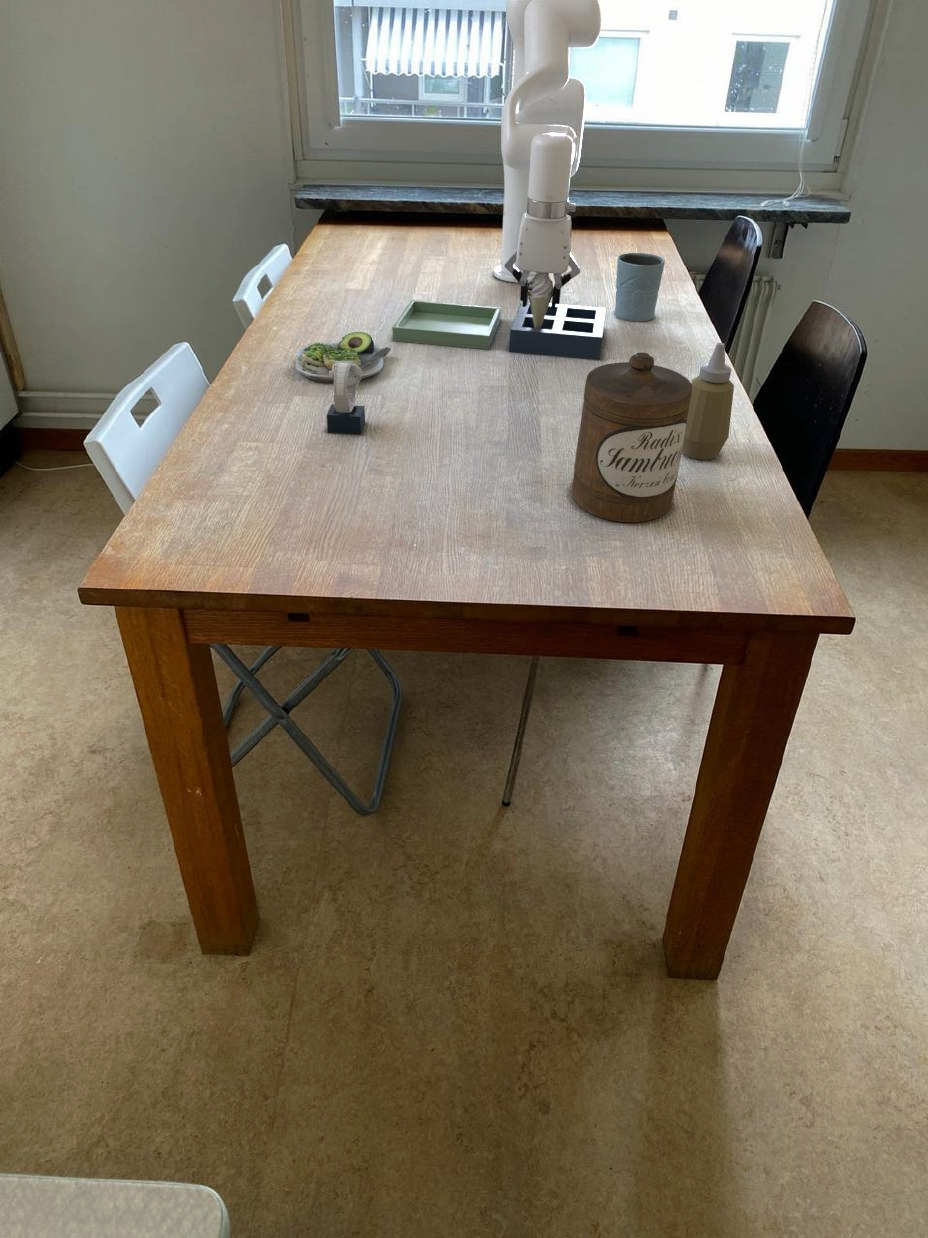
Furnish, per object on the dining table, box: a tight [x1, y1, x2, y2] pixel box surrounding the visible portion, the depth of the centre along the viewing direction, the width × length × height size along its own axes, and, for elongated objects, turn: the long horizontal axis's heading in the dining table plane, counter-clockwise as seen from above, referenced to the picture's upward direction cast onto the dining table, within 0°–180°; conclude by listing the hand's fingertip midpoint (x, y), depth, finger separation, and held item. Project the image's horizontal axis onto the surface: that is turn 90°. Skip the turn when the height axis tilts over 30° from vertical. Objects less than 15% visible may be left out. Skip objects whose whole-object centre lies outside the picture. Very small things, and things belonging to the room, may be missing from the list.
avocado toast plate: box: [294, 331, 392, 384], centre depth 171 cm, size 19×18×5 cm
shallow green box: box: [392, 299, 502, 350], centre depth 191 cm, size 18×20×3 cm
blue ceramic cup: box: [614, 252, 666, 323], centre depth 199 cm, size 10×10×12 cm
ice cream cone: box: [528, 272, 554, 329], centre depth 181 cm, size 5×5×15 cm
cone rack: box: [508, 301, 607, 361], centre depth 187 cm, size 18×18×4 cm
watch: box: [326, 361, 366, 435], centre depth 149 cm, size 6×8×11 cm
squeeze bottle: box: [682, 342, 735, 461], centre depth 144 cm, size 8×8×18 cm
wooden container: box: [571, 351, 692, 523], centre depth 130 cm, size 15×15×22 cm
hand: (539, 304), depth 182 cm, fingers closed on ice cream cone, 5 cm apart
